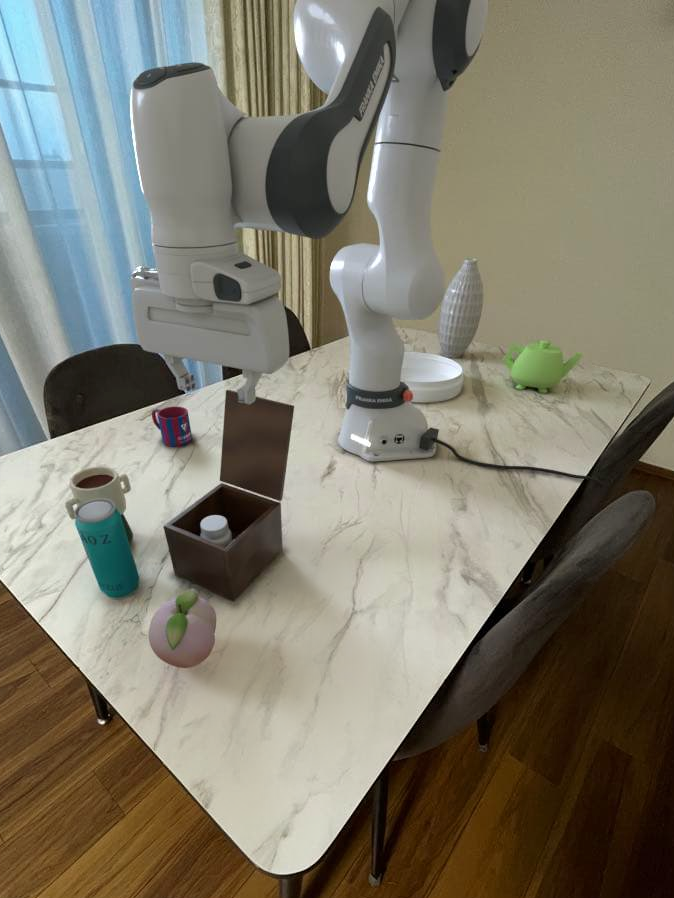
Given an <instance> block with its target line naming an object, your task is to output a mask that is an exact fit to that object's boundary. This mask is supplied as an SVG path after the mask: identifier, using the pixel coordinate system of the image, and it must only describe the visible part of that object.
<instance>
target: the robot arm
mask: <svg viewBox="0 0 674 898" xmlns="http://www.w3.org/2000/svg"><path fill="white" fill-rule="evenodd" d="M488 11H489V0H296V1H295V5H294V9H293V35H294V43H295V47H296V51H297V55H298V58H299V60H300V62H301V65H302V67H303V69H304V71H305V72H306V74H307V76H308V78H310V80H311V81H312V83H313V84H314V85H315V86H316V87H317V88H318V89H319V90H320V91H321V92H323V94H326V95H327V97H326V100H325V102H324V104H322V105H321V106H319V107H317V108H316V109H312V110H310V111H306V112H302V113H296V114H286V115H267V116H266V115H265V116H247V113H246V112H245V111H242V110H241V109H239V108H238V107H237V106H236V105H234V104H233V103H232V102H231V101H230V100H229V98H227V96H226V95H225V94H224V92H223V91H222V89H221V88H220V87H219V85H218V81H217V77H216V74H215V71H214V70H213V68H212V67H211V66H209V65H206V64H204V63H202V62H185V63H178V64H173V65H167V66H166V65H165V66H159V67H154V68H150V69H146V70H144V71H142V72H141V73H140V74H139V75H138V76H137V77H136V78H135V80H133V82H132V86H131V91H130V120H131V121H130V122H131V132H132V140H133V148H134V154H135V160H136V167H137V172H138V177H139V183H140V188H141V192H142V195H143V198H144V200H145V201H146V205H147V206H148V210H149V214H150V220H151V232H150V241H151V246H152V251H153V256H154V261H155V268H149V267H147V266H138V267H137V268H136V270H135V271H133V273H132V274H131V277H130V278H129V285H130V289H131V293H132V294H131V295H132V296H131V307H132V308H131V309H132V317H133V326H134V330H135V336H136V340H137V344H139V346H140V347H141V348H142V350H143V351H145V352H148V353H154V354H160V355H163V356H164V361H165V364H166V366H167V367H168V368H169V370H170V372H171V373H172V374H173V376H174V377H175V379H176V380H175V381H176V385H177V389H178V390H180V391H186V392H190V391H191V390H193V389H195V387H196V382H195V376H194V373H190V372H189V371H188V369H187V367H186V365H185V364H184V361H183V360H189V361H190V360H191V361H195V362H196V361H197V362H202V363H207V364H213V365H218V366H223V367H228V368H234V369H238V370H241V371H242V378H244V379H246V381H245V383H244V385H242V387H239V388H238V389H237V390H236V392H237V393H238V396H239V398H238V401H239V402H240V403H245V404H249V405H250V404H252V403H253V402H254V401H255V399H256V397H257V395H256V387H257V386H258V383H259V381H260V379H261V378H262V375H263V374H264V375H272V374H275V373H276V372H278V371H279V370H281V369H282V368H283V367H284V366H285V365H286V364H287V362H288V361H289V358H290V338H289V327H288V320H287V313H286V310H285V309H286V308H285V306H284V304H283V302H282V301H281V300H280V299H279V297H277V296H276V295H275V294H277V293H279V292H280V291H281V288H282V278H281V274H280V272H279V271H278V270H276V269H274V268H272V267H270V266H269V265H267V264H265V263H263V262H261V261H258V260H256V259H255V258H253V257H251V256H250V255H248V254H246V253H244V252H243V251H241V250H239V246H238V244H239V243H238V236H237V232H236V228H242V229H252V230H255V231H257V230H258V231H268V232H277V233H278V232H280V233H287V234H290V235H295V236H298V237H304V238H308V239H313V240H321V239H324V238H326V237H327V236H329V235H330V234H331V233H332V232H333V231H335V230H336V228H337V227H339V225H340V224H341V223H342V221H343V220H344V219H345V217H346V216H347V214H348V212H349V210H350V209H351V207H352V204H353V201H354V197H355V193H356V190H357V184H358V180H359V175H360V169H361V165H362V162H363V160H364V157H365V154H366V152H367V149H368V146H369V144H370V141H371V139H372V136H373V134H374V132H375V138H374V145H373V151H372V157H371V166H370V173H369V180H368V186H367V194H366V201H367V207H368V208H369V211H370V212H371V213H372V215H373V216H374V218H375V220H376V224H377V228H378V234H379V244H374V243H368V242H361V243H354V244H350V245H346V246H343V247H342V248H340V249H339V250H338V251H337V253H336V254H335V256H334V257H333V259H332V262H331V264H330V270H329V283H330V287H331V290H332V291H333V293H334V294H335V296H336V297H337V299H338V301H339V303H340V306H341V308H342V312H343V314H344V318H345V322H346V327H347V331H348V338H349V368H348V369H349V371H348V378H347V380H346V384H345V385H346V386H345V391H344V393H345V394H344V405H345V411H344V416H343V417H344V418H343V422H342V425H341V429H340V432H339V435H338V437H337V443H338V444H339V446H340V447H341V448H342V449H343V450H345V451H346V452H348V453H350V454H353V455H357V456H359V457H361V458H362V459H363V460H365V461H367V462H370V463H371V462H374V463H375V462H387V461H398V460H399V461H401V460H411V459H424V458H432V457H434V455H435V454H436V451H437V444H439V445H440V446H443V447H445V448H447V449H449V450H450V451H451V453H452V454H453V455H454V456H455V457H456V458H457V459H458V460H461V461H462V462H465V463H468V464H471V465H476V466H480V467H487V468H494V469H499V470H500V469H501V470H523V471H524V470H526V471H534V472H540V473H541V472H542V473H547V474H553V475H558V476H563V477H568V478H571V479H579V480H588V481H592V482H595V483H596V484H597V485H598V486H599V487H600V488H602V489H606V485H605V484H604V483H603V481H601V480H600V479H599V478H597V477H594V476H590V475H580V474H573V473H568V472H565V471H560V470H555V469H549V468H543V467H535V466H526V465H525V466H524V465H500V464H493V463H487V462H481V461H475V460H471V459H468V458H466V457H464V456H462V455H461V454H459V453H458V452H457V450H456V449H455V448H454V447H453V446H451V445H450V444H448V443H446V442H444V441H442V440H440V439H438V438H439V433H440V429H438V428H435V427H429V425H428V422H427V418H426V415H425V414H424V413H423V411H422V410H420V409H419V408H418V407H417V406H416V405H414V404H413V402H410V401H411V400H413V394H412V391H410V390H409V387H408V386H407V385H406V384H405V382H404V381H403V382H401V374H402V366H403V359H404V352H406V351H405V344H404V341H403V339H402V337H401V336H400V335H399V333H398V331H397V330H396V327H395V325H394V324H395V323H394V320H393V318H394V319H397V320H401V321H402V320H403V321H422V320H426V319H427V318H429V317H430V316H432V315H433V314H434V313H435V311H437V310H438V308H439V307H440V305H441V304H442V302H443V299H444V296H445V293H446V286H447V277H446V272H445V269H444V266H443V264H442V263H441V261H440V260H439V258H438V256H437V254H436V251H435V248H434V244H433V238H432V229H431V211H432V203H433V202H432V201H433V195H434V190H435V185H436V178H437V173H438V168H439V162H440V157H441V152H442V148H443V143H444V137H445V130H446V122H447V116H448V115H447V114H448V105H449V91H450V90H451V88H452V87H453V86H454V84H455V82H456V81H457V79H458V77H459V76H461V75H462V74H463V73H464V72H466V70H467V68H468V67H469V66H470V64H471V63H472V61H473V60H474V58H475V56H476V54H477V52H478V51H479V48H480V46H481V43H482V38H483V36H484V33H485V28H486V24H487V19H488ZM376 126H377V127H376ZM375 128H376V131H375Z"/></svg>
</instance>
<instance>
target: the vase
mask: <svg viewBox="0 0 674 898" xmlns="http://www.w3.org/2000/svg"><path fill="white" fill-rule="evenodd" d="M483 305H484V285H483V280H482V277H481V274H480V270H479V267H478V260H477V259H476V258H465V259H464V260H463V263H462V266H461V267H460V268H459V270H458V271H456V273H455V275H454V276H453V278H452V279H451V281H450V283H449V284H448V287H447V289H446V290H445V293H444V296H443V299H442V302H441V308H440V313H439V320H438V341H439V346H440V350H441V352H442V355H443V357H446V358H449V359H450V358H452V359H458V358H462V355H464V354H465V352H466V351H467V350H468V348H469V347H470V345H471V344H472V342H473V339H474V337H475V336H476V334H477V330H478V328H479V324H480V321H481V317H482V312H483Z"/></svg>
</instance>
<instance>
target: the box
mask: <svg viewBox="0 0 674 898" xmlns="http://www.w3.org/2000/svg"><path fill="white" fill-rule="evenodd" d="M211 515H220V516H223V517H225V518H226V520H227V523H228V528H229V530H230V531H231V534H232V543H230V544H229V545H228V546H227V547H224V546H222V545H219V544H217V543H215V542H212V541H210V540H207V539H205V538H202V537H200V534H201V526H200V523H201V521H202V520H203V519H204V518H206V517H208V516H211ZM282 523H283V522H282V503H281V502H280V501H277V500H274V499H271V498H268V497H265V496H262V495H259V494H256V493H254V492H251V491H248V490H245V489H242V488H239V487H236V486H233V485H230V484H227V483H224V482H221V483H219V484H218V485H216V486H215V487H214V488H212V489H211V490H210V491H208V492H207V493H206V494H204V495H203V496H201V498H198V499H197V500H196V501H195V502H193V503H192V504H191V505H189V506H188V507H186V508H185V509H184V510H183V511H181V512H180V513H179V514H177V515H176V516H175V517H173V518H172V519H170V520H169V521H168V522H166V523H165V524H164V525H163V526H162V527H163V530H164V531H163V532H164V535H165V539H166V543H167V547H168V548H167V549H168V552H169V557H170V560H171V565H172V569H173V573H174V576H176V577H177V578H179V579H183V580H185V581H187V582H189V583H191V584H193V585H195V586H198V587H200V588H202V589H205V590H206V591H209V592H210V593H212V594H215V595H217V596H220V597H222V598H224V599H226V600H229V601H231V602H233V603H234V602H235V601H237V599H239V597H240V596H241V595H242V594H243V593H244V592H245V591H246V590H247V589H248V588H249V587H250V586H251V585H252V584H253V583H254V581H255V580H257V578H259V576H260V575H261V574H263V572H264V571H265V570H266V569H267V568H268V567H269V566H270V565H271V564H272V563H273V562H274V561H275V559H277V557H278V556H279V555H281V554H282V552H283V527H282Z"/></svg>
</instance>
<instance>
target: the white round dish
mask: <svg viewBox="0 0 674 898" xmlns="http://www.w3.org/2000/svg"><path fill="white" fill-rule="evenodd" d="M403 381H404V382H405V384H406V385H407V386H408V387H409V390H410V391H412V394H413V400H411V401H410V402H411V403H421V404H422V403H423V404H424V403H425V404H427V403H429V404H430V403H438V402H444V401H448V400H451V399H453V398H456V397H457V396H458V395H459V394H460V393H461V391H462V388H463V383H464V374H463V368H462V366H461V365H460V364H459V363H458V362H457V361H455V360H453V359H450V358H449V357H446V356H442V355H438V354H433V353H429V352H428V353H427V352H417V351H404V359H403V366H402V374H401V382H403Z"/></svg>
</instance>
